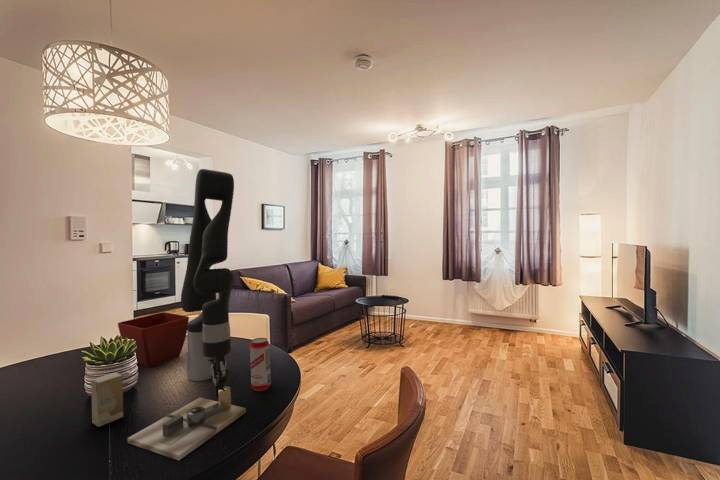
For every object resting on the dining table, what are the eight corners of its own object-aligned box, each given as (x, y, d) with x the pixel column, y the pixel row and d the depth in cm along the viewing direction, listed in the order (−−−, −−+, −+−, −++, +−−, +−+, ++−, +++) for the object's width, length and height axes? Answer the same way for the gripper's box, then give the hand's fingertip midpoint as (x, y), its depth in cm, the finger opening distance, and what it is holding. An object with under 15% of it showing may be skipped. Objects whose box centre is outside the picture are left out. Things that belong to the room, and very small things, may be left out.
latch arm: (191, 427, 88) (190, 406, 88) (184, 421, 91) (183, 400, 91) (234, 408, 97) (233, 389, 96) (226, 403, 100) (226, 384, 99)
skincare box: (98, 427, 92) (96, 383, 92) (91, 423, 95) (89, 379, 94) (125, 416, 98) (123, 374, 97) (117, 412, 100) (115, 371, 100)
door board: (127, 442, 85) (126, 426, 85) (200, 401, 105) (199, 387, 105) (178, 460, 78) (178, 442, 78) (246, 412, 98) (245, 397, 98)
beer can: (265, 392, 110) (263, 343, 109) (247, 391, 111) (245, 342, 111) (274, 384, 116) (272, 337, 116) (257, 382, 117) (255, 336, 117)
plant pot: (145, 373, 128) (143, 328, 127) (118, 364, 137) (116, 322, 137) (191, 355, 145) (190, 316, 144) (165, 349, 154) (163, 311, 153)
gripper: (236, 340, 96) (239, 400, 97) (223, 329, 107) (226, 383, 107) (208, 346, 91) (211, 409, 92) (197, 334, 102) (200, 391, 103)
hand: (219, 395), depth 100 cm, fingers closed
